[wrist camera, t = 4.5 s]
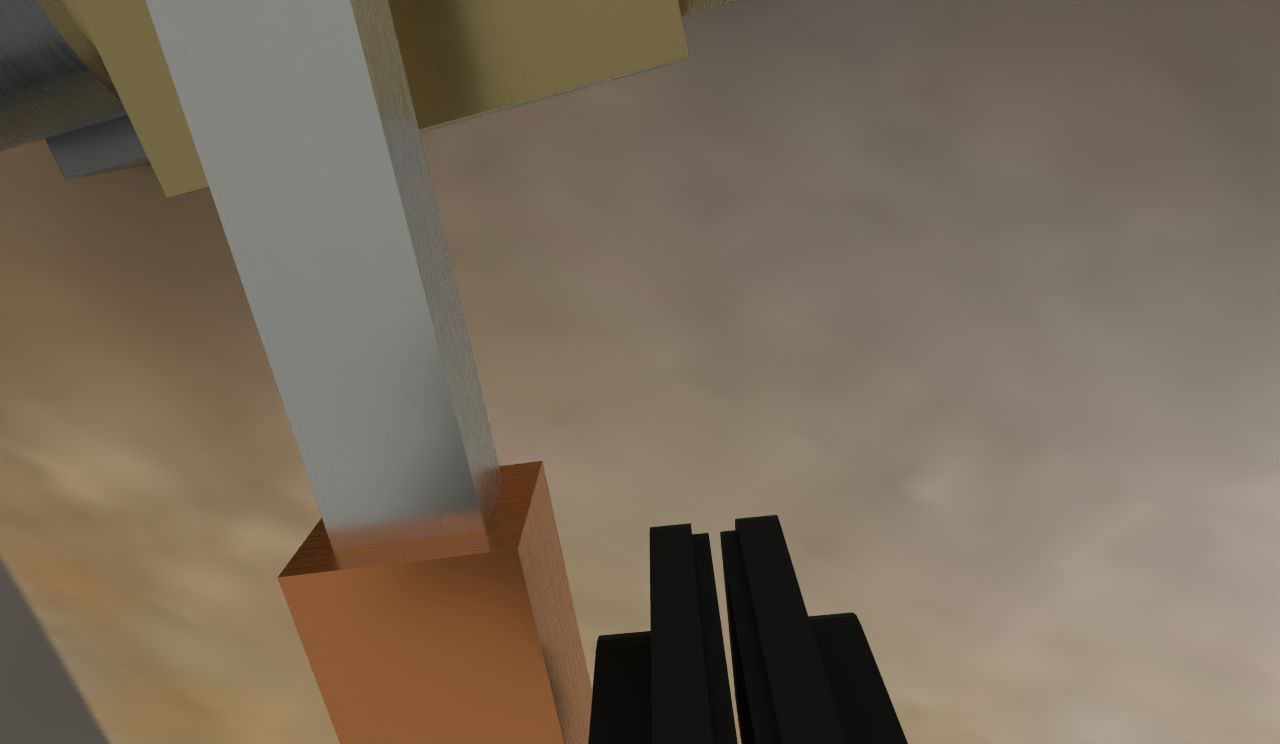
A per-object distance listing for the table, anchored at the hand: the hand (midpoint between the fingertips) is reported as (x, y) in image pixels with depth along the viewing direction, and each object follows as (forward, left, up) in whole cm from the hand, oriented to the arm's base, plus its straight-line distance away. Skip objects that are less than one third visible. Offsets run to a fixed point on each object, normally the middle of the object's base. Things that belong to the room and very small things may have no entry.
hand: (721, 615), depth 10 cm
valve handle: (+3, -5, 0) cm, 5 cm away
